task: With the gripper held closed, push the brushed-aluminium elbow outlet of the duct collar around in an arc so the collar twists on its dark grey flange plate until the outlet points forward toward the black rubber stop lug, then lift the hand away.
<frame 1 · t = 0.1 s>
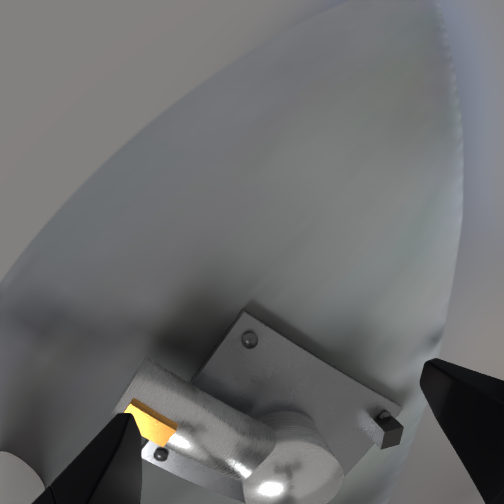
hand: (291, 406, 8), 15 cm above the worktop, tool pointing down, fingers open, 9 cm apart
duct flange: (275, 436, 24), on the worktop
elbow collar: (233, 444, 19), point 4 cm above the worktop, hinge at 90.0°
cylindrical container: (19, 474, 21), on the worktop
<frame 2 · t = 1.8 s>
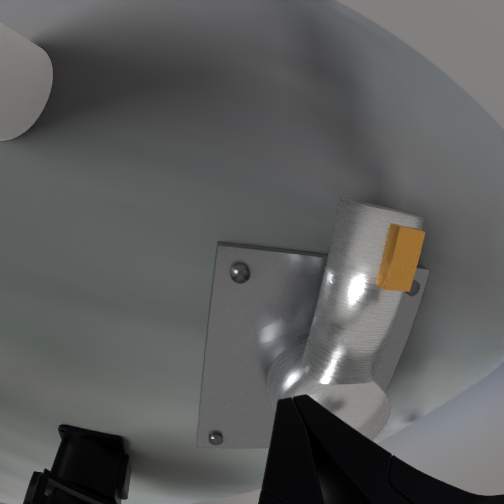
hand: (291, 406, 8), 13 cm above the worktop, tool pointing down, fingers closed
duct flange: (307, 365, 24), on the worktop
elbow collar: (346, 343, 18), point 4 cm above the worktop, hinge at 90.0°
cylindrical container: (13, 91, 15), on the worktop
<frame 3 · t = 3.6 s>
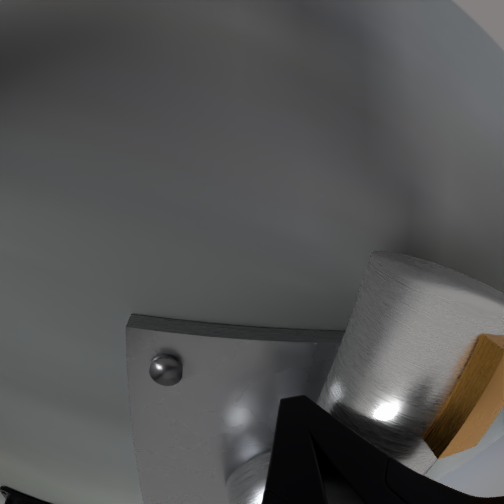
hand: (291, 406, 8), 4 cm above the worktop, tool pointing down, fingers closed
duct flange: (286, 464, 15), on the worktop
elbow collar: (346, 477, 9), point 4 cm above the worktop, hinge at 86.6°, touching gripper
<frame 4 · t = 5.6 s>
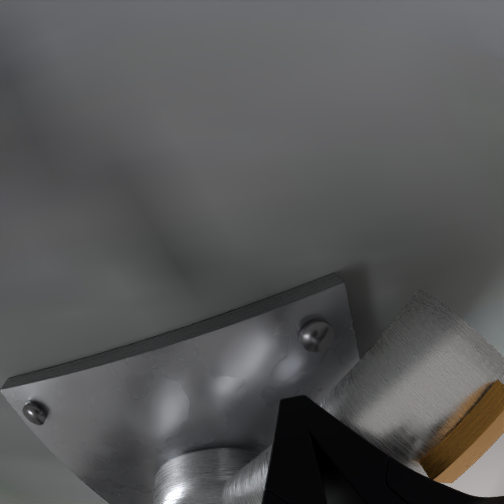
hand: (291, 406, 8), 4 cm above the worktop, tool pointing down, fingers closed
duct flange: (221, 467, 14), on the worktop
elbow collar: (301, 493, 9), point 4 cm above the worktop, hinge at 33.8°, touching gripper
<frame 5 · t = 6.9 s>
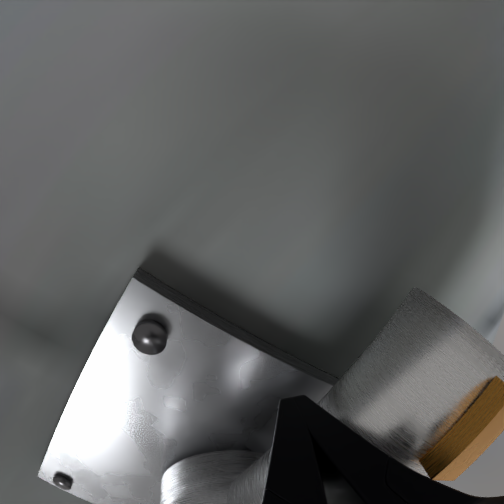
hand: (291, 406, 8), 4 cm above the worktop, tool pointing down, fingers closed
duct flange: (227, 469, 14), on the worktop
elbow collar: (305, 493, 9), point 4 cm above the worktop, hinge at 0.4°, touching gripper
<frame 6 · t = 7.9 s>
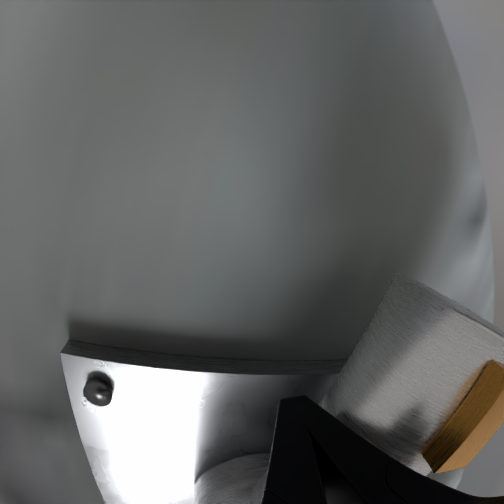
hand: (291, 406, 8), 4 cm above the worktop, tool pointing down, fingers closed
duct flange: (257, 471, 15), on the worktop
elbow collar: (325, 489, 9), point 4 cm above the worktop, hinge at -15.9°, touching gripper
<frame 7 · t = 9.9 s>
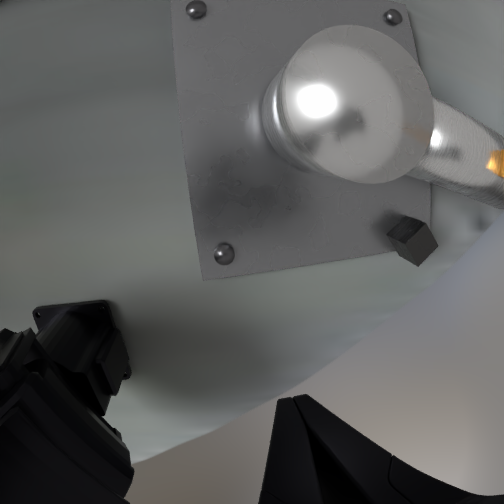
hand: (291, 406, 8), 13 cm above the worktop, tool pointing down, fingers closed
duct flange: (314, 118, 18), on the worktop
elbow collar: (418, 135, 15), point 4 cm above the worktop, hinge at -16.1°
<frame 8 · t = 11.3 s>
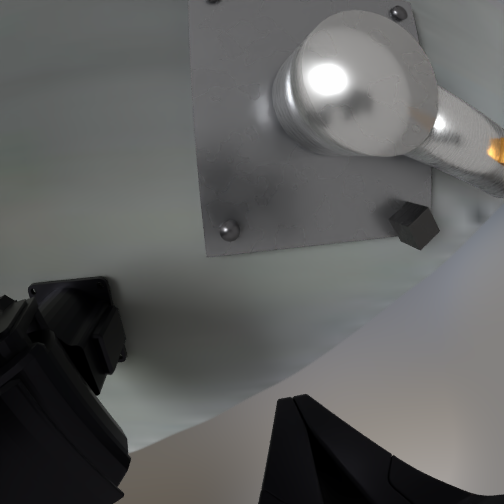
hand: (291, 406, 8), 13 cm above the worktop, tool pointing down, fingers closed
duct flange: (321, 102, 18), on the worktop
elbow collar: (422, 120, 15), point 4 cm above the worktop, hinge at -16.1°
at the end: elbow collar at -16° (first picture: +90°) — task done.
